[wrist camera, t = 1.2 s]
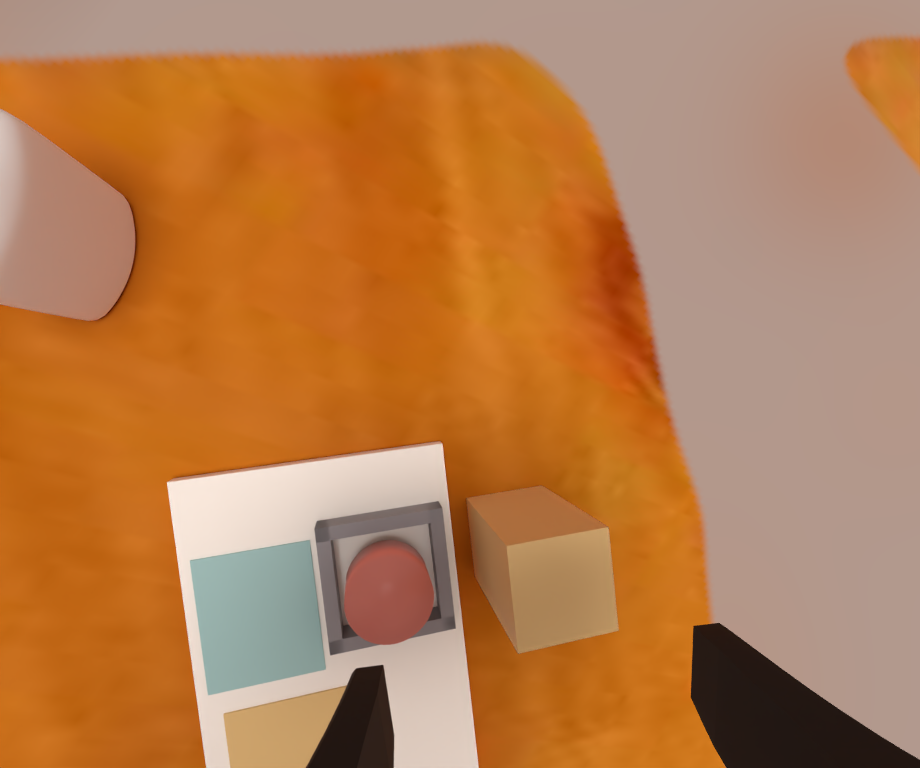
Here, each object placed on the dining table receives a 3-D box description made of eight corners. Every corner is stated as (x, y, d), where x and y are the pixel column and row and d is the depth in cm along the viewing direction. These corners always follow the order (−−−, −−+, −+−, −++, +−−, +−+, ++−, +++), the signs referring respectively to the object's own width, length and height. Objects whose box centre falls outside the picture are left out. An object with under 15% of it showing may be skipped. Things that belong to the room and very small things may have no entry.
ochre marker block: (549, 561, 26) (618, 630, 19) (474, 576, 25) (518, 653, 18) (541, 485, 26) (608, 526, 19) (466, 497, 25) (506, 546, 18)
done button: (431, 611, 22) (438, 634, 21) (350, 628, 22) (349, 653, 20) (422, 533, 22) (428, 549, 20) (340, 547, 22) (338, 565, 20)
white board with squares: (483, 830, 25) (493, 868, 23) (232, 905, 23) (220, 954, 21) (439, 441, 24) (446, 447, 22) (173, 478, 22) (155, 488, 20)
